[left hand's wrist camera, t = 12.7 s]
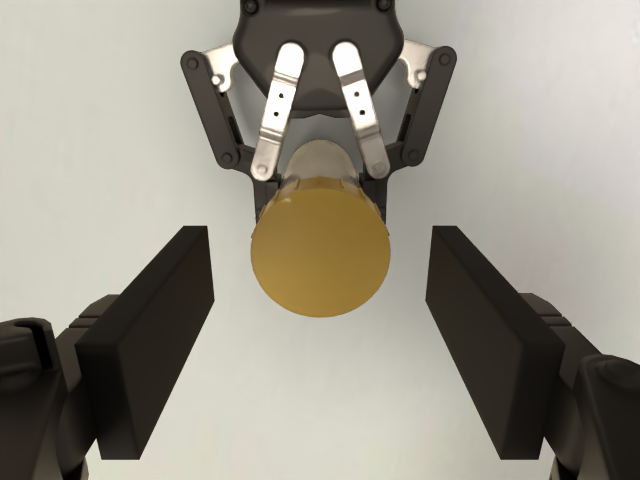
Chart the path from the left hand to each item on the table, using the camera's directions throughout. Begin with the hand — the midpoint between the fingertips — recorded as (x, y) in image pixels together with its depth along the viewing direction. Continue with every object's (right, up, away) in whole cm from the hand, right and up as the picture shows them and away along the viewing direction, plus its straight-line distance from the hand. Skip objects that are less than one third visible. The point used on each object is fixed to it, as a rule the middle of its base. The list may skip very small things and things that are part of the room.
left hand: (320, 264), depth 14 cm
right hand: (0, +1, +11) cm, 11 cm away
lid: (0, 0, +2) cm, 2 cm away
